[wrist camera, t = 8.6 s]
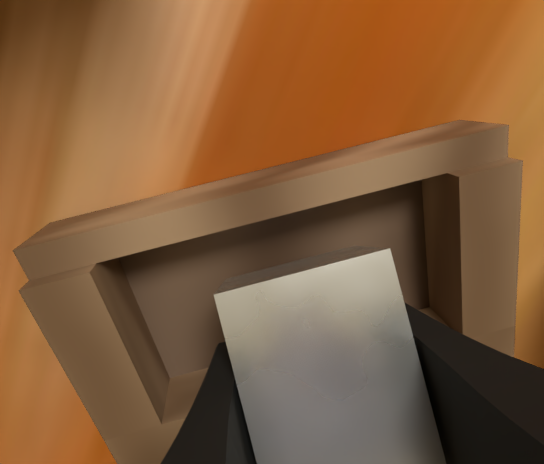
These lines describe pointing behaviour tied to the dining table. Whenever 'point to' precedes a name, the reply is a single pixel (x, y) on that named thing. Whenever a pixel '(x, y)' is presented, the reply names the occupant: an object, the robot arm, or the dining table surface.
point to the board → (268, 264)
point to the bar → (328, 362)
